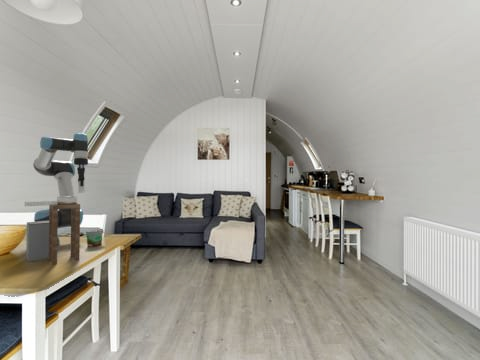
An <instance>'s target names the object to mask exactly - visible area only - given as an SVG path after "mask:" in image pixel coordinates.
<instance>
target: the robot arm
mask: <svg viewBox="0 0 480 360" xmlns="http://www.w3.org/2000/svg"><path fill="white" fill-rule="evenodd" d="M39 141H40V142H39V144H40V145H39V146H40V153H39V154H38V156H37V158H35V159H34V161H33V164H32V165H33V168H34V170H35V171H36V172H37V173H38V174H40V175H42V176H46V177H53V178H54V179H55V181H57V187H58V194H59V197H60V196H75V193H74V192H75V191H74V187H73V181H72V179H73V178H74V176H75V175H76V169H77V175H78V176H77V177H78V178H77V181H78V182H77V185H78V193H79V194H81V193H84V192H85V179H86V178H85V172H86V171H85V170H86V167H85V166H87V165H89V159H88V157H89V155H90V153H88V152H89V147H88V146H89V145H88V144H89V139H88V135H87V134H86V133H74V134H73V137H72V139H71V138H70V139H69V138H58V137H51V136H42V137H41V138H40V140H39ZM57 151H64V152H71V153H73V162H72V161H67V160H55V159H54V157H55V155H56V153H57ZM53 159H54V160H53ZM75 166H76V167H77V166H78V167H77V168H76V169H75ZM83 220H84V210H83V209H82V208H80V225H82V223H83ZM37 221H49V208H48V209H41V210H37V211H36V212H35V213H34V217H33V222H37ZM61 228H62V229H63V228H71V209H58V229H61ZM60 242H61V240H60V238H59V235H58V234H57V246H59V245H60V244H61V243H60Z"/></svg>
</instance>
